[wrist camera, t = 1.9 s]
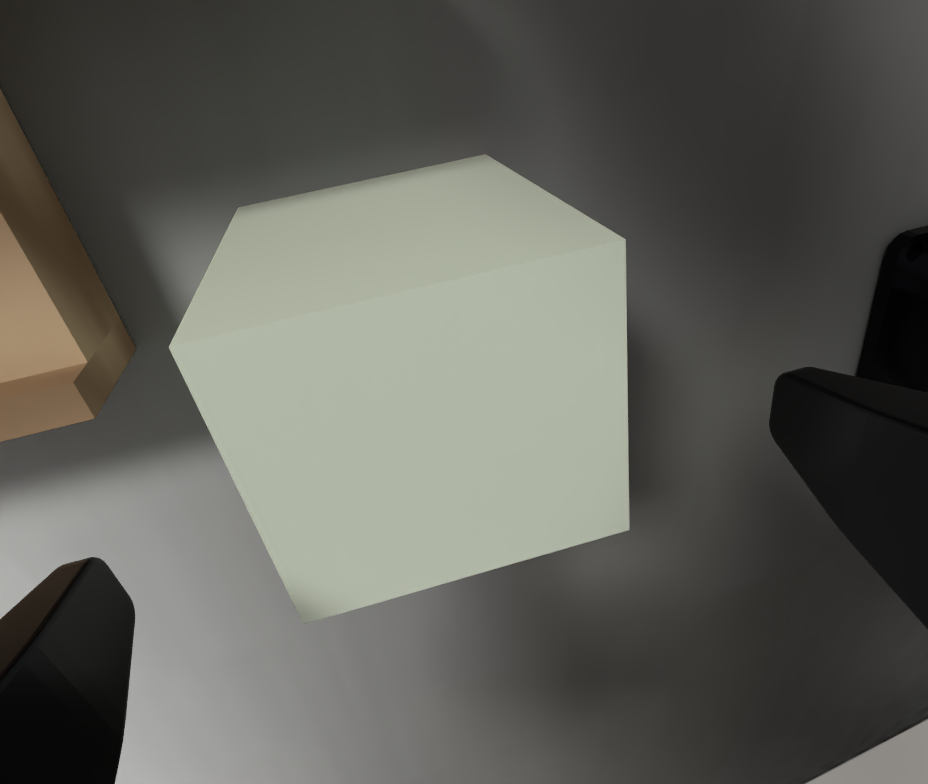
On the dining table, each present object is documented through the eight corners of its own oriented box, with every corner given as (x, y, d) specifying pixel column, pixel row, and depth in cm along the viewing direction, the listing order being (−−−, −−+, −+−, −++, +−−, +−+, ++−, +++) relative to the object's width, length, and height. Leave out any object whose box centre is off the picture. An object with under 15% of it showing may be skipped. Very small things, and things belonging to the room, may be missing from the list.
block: (513, 368, 16) (629, 554, 10) (315, 419, 15) (314, 647, 10) (485, 154, 13) (625, 238, 7) (238, 207, 12) (168, 347, 7)
